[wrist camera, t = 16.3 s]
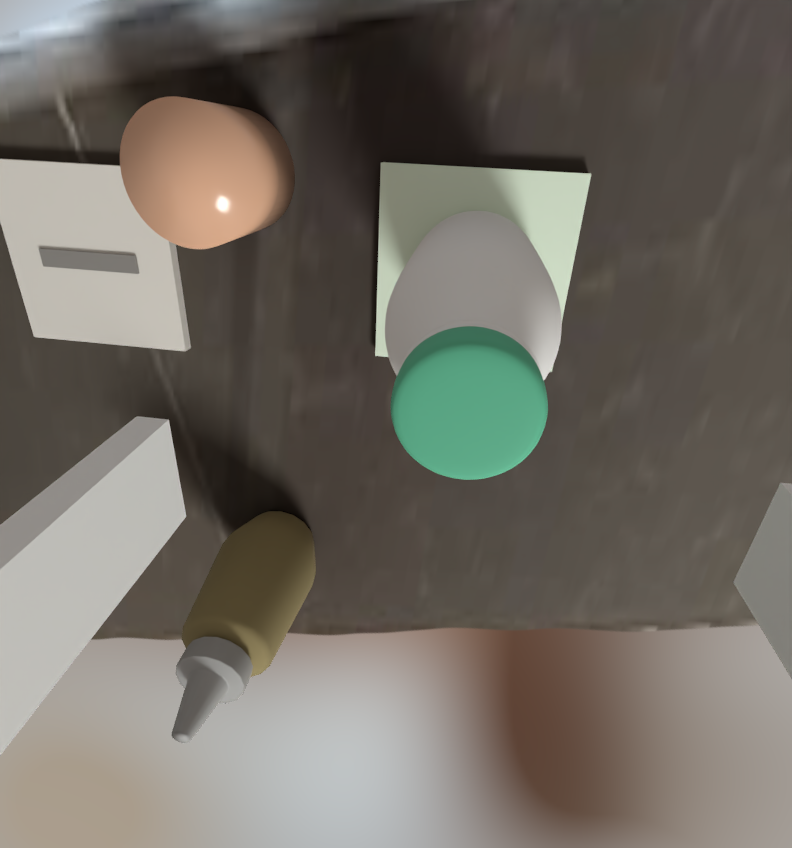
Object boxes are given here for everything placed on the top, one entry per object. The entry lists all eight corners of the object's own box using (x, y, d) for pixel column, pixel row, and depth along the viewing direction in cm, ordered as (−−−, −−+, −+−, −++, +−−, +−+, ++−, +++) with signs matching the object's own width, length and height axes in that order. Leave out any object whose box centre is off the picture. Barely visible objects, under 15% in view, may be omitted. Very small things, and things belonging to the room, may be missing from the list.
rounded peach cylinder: (194, 227, 35) (134, 244, 28) (179, 104, 31) (106, 93, 25) (297, 234, 34) (257, 253, 28) (292, 109, 31) (245, 99, 24)
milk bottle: (429, 194, 31) (363, 247, 13) (556, 227, 31) (660, 326, 13) (399, 318, 34) (317, 488, 17) (513, 348, 34) (549, 552, 17)
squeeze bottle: (284, 583, 49) (192, 790, 33) (220, 526, 47) (89, 719, 31) (345, 545, 46) (276, 755, 30) (280, 482, 43) (167, 673, 28)
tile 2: (377, 351, 37) (374, 356, 36) (382, 162, 31) (380, 162, 30) (550, 367, 36) (552, 373, 35) (588, 173, 30) (592, 174, 29)
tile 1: (41, 333, 40) (32, 337, 39) (-9, 157, 34) (-22, 157, 33) (190, 347, 39) (184, 352, 38) (164, 167, 33) (155, 168, 32)
